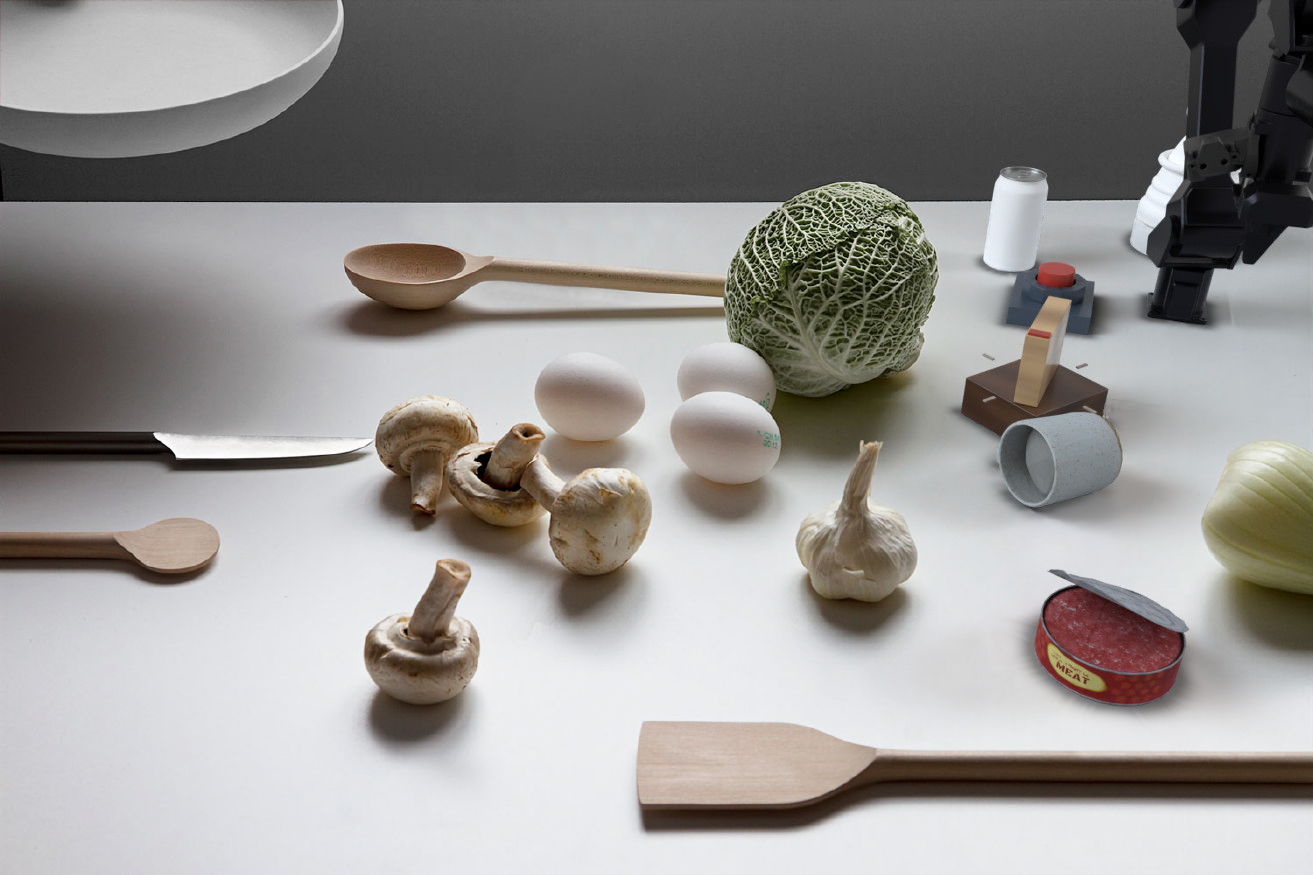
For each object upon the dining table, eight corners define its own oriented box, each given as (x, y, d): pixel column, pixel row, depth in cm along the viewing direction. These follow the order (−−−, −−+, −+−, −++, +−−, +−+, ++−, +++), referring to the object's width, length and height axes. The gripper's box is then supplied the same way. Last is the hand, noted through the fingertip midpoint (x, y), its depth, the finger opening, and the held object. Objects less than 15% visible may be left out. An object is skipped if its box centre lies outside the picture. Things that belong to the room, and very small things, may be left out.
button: (1038, 273, 134) (1041, 260, 133) (1073, 278, 133) (1076, 264, 132) (1035, 286, 131) (1038, 272, 130) (1071, 291, 130) (1074, 277, 129)
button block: (1014, 287, 140) (1019, 257, 138) (1091, 298, 137) (1098, 267, 135) (1005, 324, 131) (1010, 292, 129) (1087, 335, 128) (1094, 303, 126)
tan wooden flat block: (1036, 359, 114) (1049, 293, 111) (1059, 364, 113) (1072, 297, 110) (1013, 402, 107) (1025, 333, 103) (1036, 407, 106) (1050, 337, 102)
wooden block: (1026, 372, 121) (1032, 337, 118) (1137, 430, 110) (1146, 392, 108) (926, 407, 114) (931, 370, 112) (1034, 471, 104) (1042, 433, 102)
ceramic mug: (1120, 502, 99) (1138, 426, 96) (1046, 524, 97) (1062, 447, 93) (1039, 446, 108) (1052, 374, 104) (969, 465, 105) (980, 392, 101)
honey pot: (1118, 251, 150) (1147, 115, 140) (1144, 223, 159) (1173, 93, 149) (1221, 272, 143) (1260, 131, 134) (1242, 241, 152) (1280, 107, 143)
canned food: (1021, 681, 87) (1006, 553, 86) (1151, 663, 87) (1137, 535, 86) (1078, 728, 76) (1061, 581, 75) (1227, 707, 76) (1211, 561, 75)
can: (979, 269, 145) (993, 178, 138) (986, 252, 150) (1000, 163, 143) (1031, 277, 142) (1048, 184, 136) (1037, 258, 148) (1053, 168, 141)
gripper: (1196, 79, 117) (1162, 223, 125) (1203, 127, 102) (1163, 287, 110) (1316, 88, 113) (1273, 235, 122) (1341, 139, 99) (1290, 303, 107)
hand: (1247, 263), depth 115 cm, fingers closed
